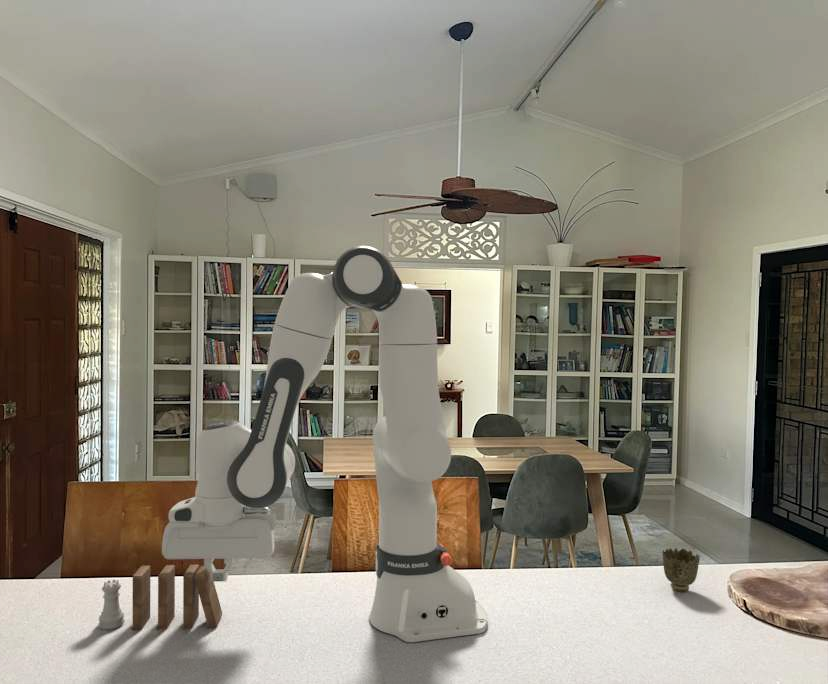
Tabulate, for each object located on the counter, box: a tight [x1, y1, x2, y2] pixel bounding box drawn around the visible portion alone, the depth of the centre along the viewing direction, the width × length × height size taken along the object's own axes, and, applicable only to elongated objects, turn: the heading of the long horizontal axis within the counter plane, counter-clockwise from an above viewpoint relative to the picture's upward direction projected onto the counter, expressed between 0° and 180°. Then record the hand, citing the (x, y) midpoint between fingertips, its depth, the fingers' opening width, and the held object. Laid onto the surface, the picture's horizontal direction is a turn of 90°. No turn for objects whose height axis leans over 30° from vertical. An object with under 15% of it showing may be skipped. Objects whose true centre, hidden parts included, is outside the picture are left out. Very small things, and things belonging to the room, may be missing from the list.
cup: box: [661, 547, 701, 593], centre depth 139 cm, size 8×7×8 cm
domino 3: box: [182, 564, 200, 630], centre depth 121 cm, size 2×5×10 cm, turn 5°
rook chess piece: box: [97, 579, 125, 631], centre depth 119 cm, size 4×4×8 cm
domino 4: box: [194, 564, 223, 629], centre depth 121 cm, size 2×5×10 cm, turn 5°
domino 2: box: [157, 564, 176, 631], centre depth 120 cm, size 2×5×10 cm, turn 5°
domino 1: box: [132, 565, 151, 631], centre depth 120 cm, size 2×5×10 cm, turn 5°
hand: (218, 580), depth 121 cm, fingers closed
